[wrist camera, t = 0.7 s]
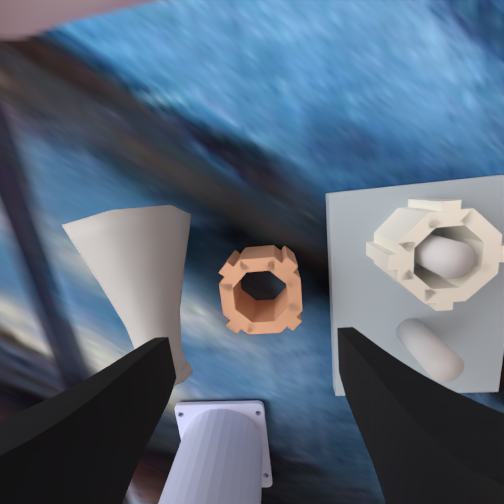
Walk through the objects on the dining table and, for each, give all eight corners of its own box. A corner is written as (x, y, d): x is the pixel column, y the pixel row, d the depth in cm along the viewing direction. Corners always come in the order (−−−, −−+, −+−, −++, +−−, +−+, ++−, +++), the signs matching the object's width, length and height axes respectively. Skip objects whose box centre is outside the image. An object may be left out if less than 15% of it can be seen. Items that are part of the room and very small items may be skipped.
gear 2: (472, 240, 17) (522, 252, 14) (411, 295, 18) (443, 319, 15) (415, 189, 16) (453, 189, 13) (357, 249, 18) (377, 263, 14)
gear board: (487, 382, 20) (554, 442, 15) (333, 386, 22) (350, 443, 17) (513, 173, 17) (611, 166, 12) (325, 193, 18) (344, 194, 13)
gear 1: (298, 307, 20) (304, 331, 17) (233, 311, 21) (226, 335, 17) (294, 243, 19) (298, 255, 16) (225, 249, 19) (215, 261, 16)
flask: (184, 191, 13) (228, 385, 12) (193, 222, 20) (222, 347, 20) (28, 219, 12) (68, 437, 11) (97, 242, 19) (123, 376, 18)
